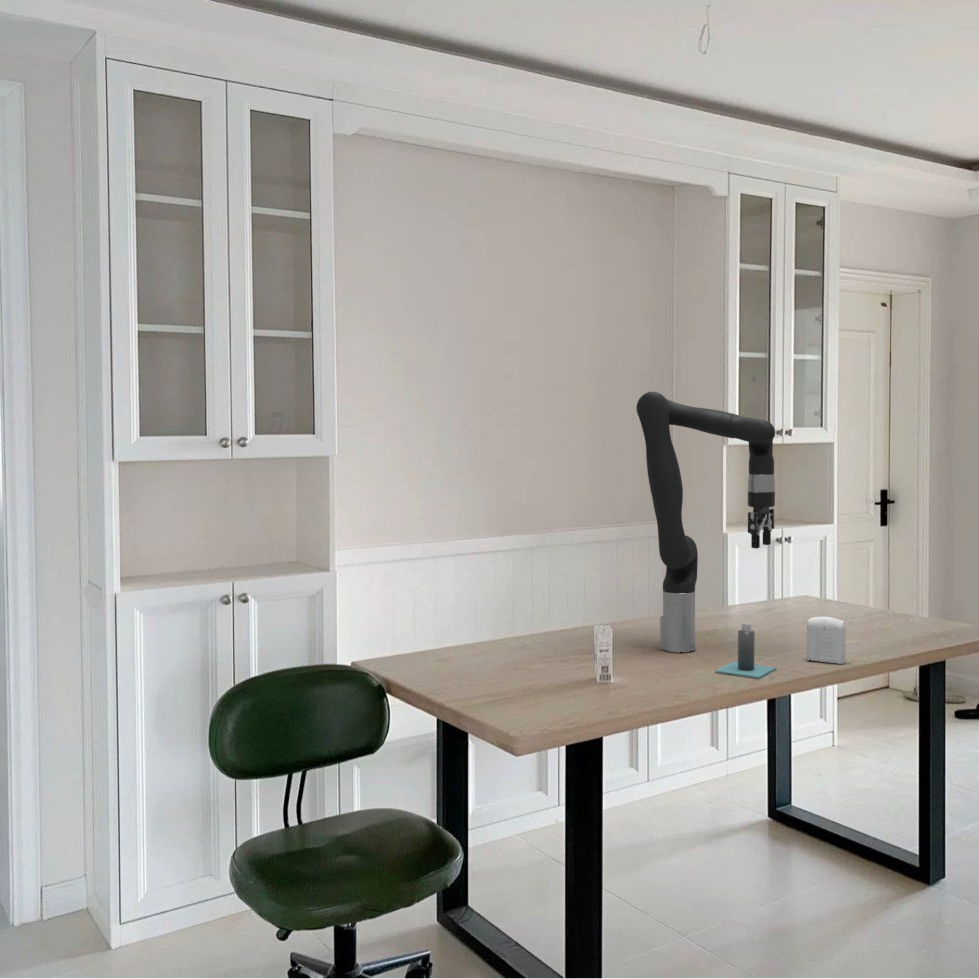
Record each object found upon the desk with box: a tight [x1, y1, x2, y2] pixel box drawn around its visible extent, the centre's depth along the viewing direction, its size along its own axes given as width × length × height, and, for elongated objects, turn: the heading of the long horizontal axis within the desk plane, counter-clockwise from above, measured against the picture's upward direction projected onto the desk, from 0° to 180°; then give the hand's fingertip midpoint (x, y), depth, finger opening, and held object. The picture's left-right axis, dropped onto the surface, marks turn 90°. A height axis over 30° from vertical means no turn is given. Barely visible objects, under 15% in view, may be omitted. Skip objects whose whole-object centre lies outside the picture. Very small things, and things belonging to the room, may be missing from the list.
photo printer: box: [805, 616, 847, 665], centre depth 281 cm, size 10×4×12 cm, turn 60°
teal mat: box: [715, 661, 777, 680], centre depth 272 cm, size 12×12×1 cm
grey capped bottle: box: [737, 622, 756, 671], centre depth 271 cm, size 4×4×12 cm
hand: (761, 546), depth 294 cm, fingers open, 8 cm apart
